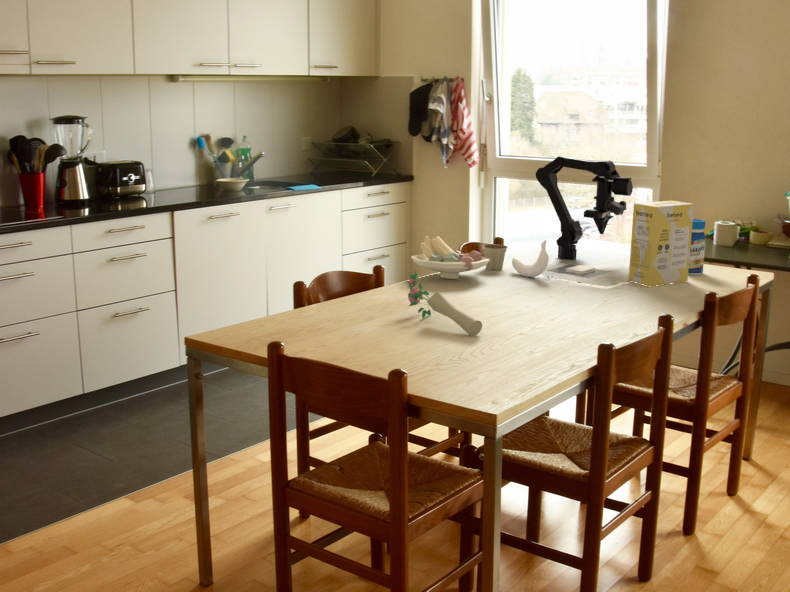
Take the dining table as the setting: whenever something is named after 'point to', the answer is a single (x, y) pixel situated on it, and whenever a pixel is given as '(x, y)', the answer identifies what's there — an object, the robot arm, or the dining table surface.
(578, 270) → the tile
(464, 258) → the dish with food
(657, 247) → the pasta box
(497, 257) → the flower pot
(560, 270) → the slate board
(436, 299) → the flower vase
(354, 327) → the dining table surface
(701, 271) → the beverage bottle
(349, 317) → the dining table surface
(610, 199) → the robot arm
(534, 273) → the banana
